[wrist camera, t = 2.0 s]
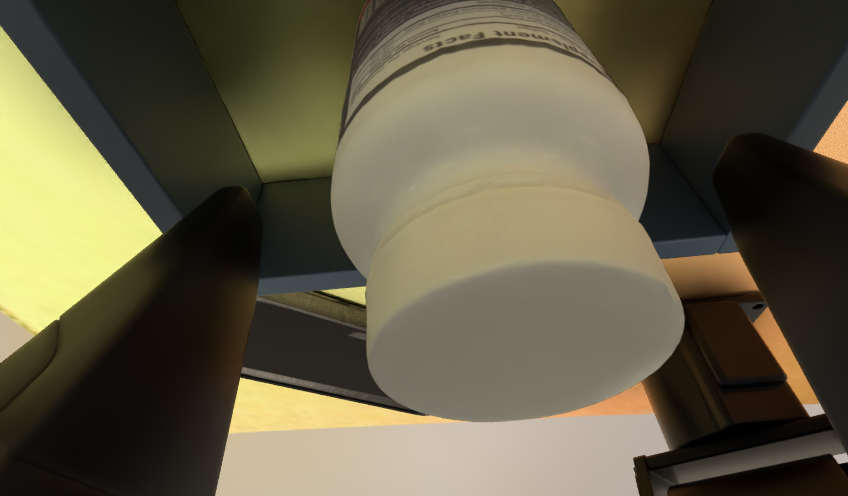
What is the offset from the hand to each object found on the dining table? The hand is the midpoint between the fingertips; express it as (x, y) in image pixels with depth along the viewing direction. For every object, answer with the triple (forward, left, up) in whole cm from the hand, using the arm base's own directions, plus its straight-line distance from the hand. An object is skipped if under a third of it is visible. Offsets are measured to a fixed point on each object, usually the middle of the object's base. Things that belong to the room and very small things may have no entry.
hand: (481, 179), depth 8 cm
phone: (-16, +6, -6) cm, 18 cm away
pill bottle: (0, 0, -6) cm, 6 cm away
